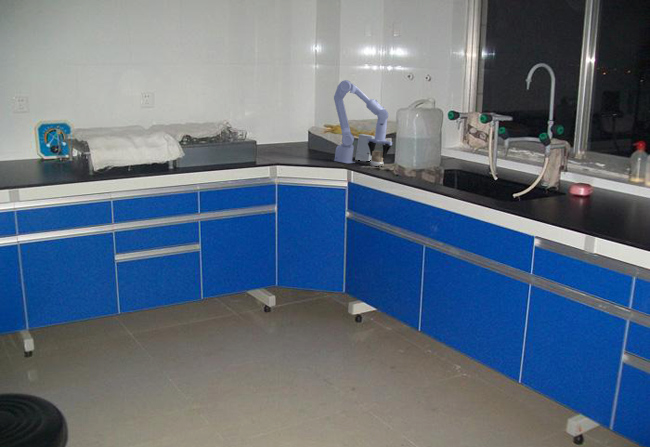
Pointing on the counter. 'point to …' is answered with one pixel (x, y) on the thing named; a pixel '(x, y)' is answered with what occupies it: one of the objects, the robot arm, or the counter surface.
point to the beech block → (377, 156)
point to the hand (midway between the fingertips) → (377, 156)
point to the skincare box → (363, 148)
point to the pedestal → (376, 163)
